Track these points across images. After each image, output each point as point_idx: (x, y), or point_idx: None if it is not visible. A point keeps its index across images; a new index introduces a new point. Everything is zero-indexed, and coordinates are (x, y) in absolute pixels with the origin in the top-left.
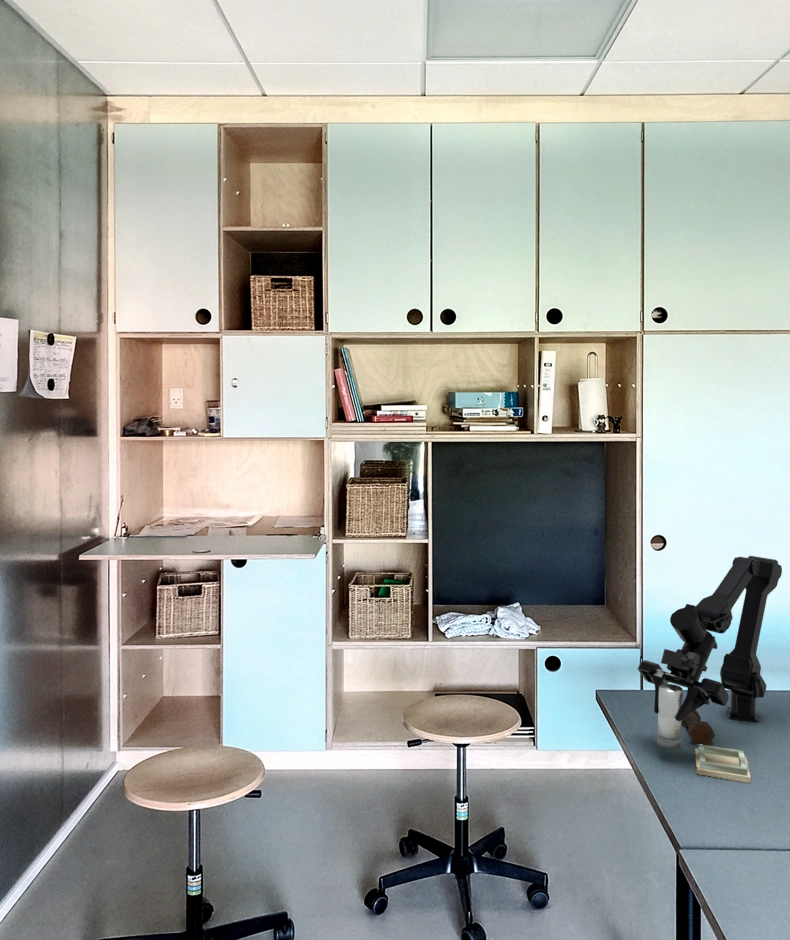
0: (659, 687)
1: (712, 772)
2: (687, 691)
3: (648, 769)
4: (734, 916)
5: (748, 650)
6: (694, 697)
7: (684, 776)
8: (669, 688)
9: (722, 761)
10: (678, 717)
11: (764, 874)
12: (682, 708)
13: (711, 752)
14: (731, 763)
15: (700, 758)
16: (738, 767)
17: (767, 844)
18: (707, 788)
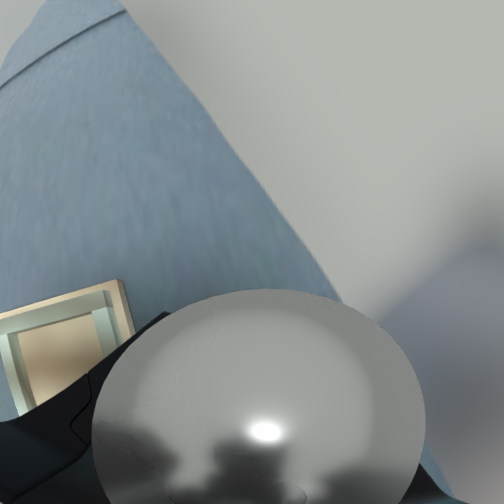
0: (412, 384)
1: (76, 291)
2: (49, 470)
3: (262, 226)
4: None
5: None
6: (7, 423)
7: (152, 248)
8: (283, 447)
9: (68, 383)
10: (161, 317)
11: (28, 35)
12: None
13: None
14: (46, 381)
15: (109, 325)
16: (10, 323)
17: (4, 92)
18: (85, 215)
